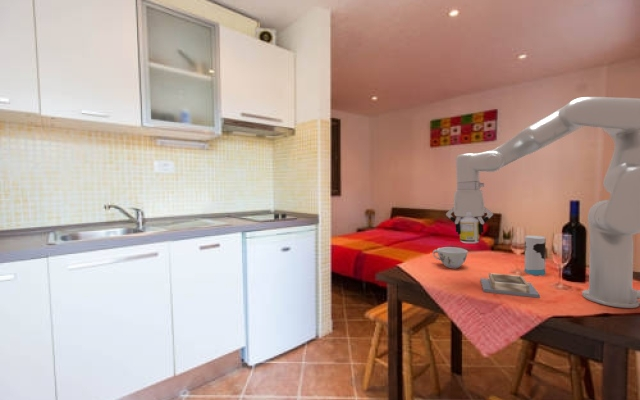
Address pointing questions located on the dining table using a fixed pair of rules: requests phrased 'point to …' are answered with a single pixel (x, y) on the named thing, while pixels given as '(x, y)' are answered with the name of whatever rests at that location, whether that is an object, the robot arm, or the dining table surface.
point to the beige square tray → (508, 286)
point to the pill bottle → (469, 229)
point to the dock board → (488, 288)
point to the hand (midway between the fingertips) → (469, 233)
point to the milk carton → (535, 255)
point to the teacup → (451, 256)
